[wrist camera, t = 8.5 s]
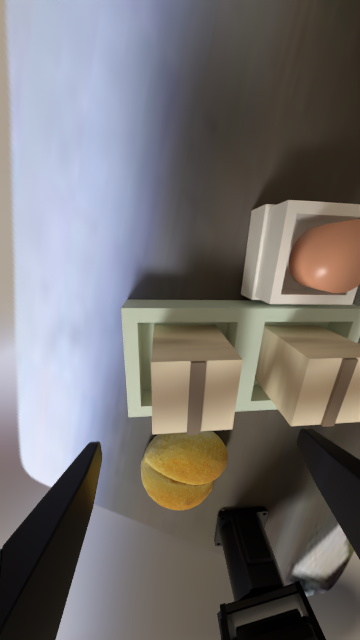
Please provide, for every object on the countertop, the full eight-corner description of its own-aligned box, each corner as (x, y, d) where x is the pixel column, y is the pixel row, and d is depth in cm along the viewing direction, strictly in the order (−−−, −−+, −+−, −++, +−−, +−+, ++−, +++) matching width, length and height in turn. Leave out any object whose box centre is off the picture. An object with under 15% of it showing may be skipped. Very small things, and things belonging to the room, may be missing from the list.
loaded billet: (303, 374, 19) (362, 424, 13) (253, 376, 18) (292, 428, 13) (317, 324, 17) (390, 358, 12) (262, 325, 16) (311, 360, 11)
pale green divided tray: (314, 387, 20) (334, 406, 18) (132, 395, 18) (128, 417, 16) (340, 300, 17) (369, 308, 15) (127, 299, 15) (121, 308, 13)
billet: (210, 377, 18) (233, 432, 12) (154, 379, 17) (152, 437, 12) (215, 325, 16) (244, 361, 11) (153, 325, 15) (151, 364, 10)
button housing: (309, 294, 16) (353, 307, 13) (240, 294, 16) (266, 307, 12) (329, 214, 15) (388, 201, 11) (251, 210, 14) (285, 195, 10)
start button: (335, 287, 13) (366, 293, 11) (283, 286, 12) (305, 292, 10) (353, 226, 12) (391, 221, 10) (296, 223, 11) (323, 217, 9)
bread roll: (234, 428, 21) (250, 467, 17) (198, 483, 23) (206, 528, 20) (161, 409, 19) (162, 448, 15) (131, 471, 22) (125, 518, 18)
